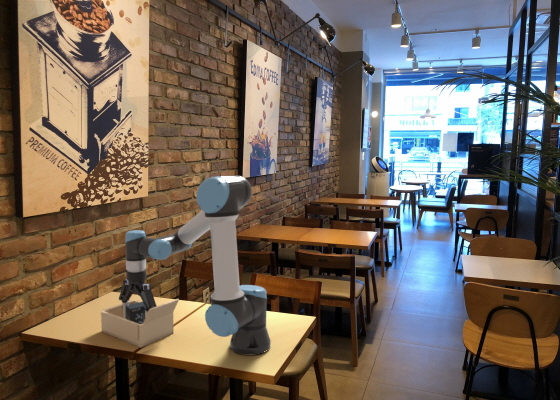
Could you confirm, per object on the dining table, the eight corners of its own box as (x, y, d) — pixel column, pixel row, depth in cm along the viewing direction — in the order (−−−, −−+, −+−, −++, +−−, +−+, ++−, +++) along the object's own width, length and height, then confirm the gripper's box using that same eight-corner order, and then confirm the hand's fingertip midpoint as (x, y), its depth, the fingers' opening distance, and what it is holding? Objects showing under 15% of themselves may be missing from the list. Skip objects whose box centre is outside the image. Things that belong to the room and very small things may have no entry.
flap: (173, 312, 175) (179, 299, 172) (144, 323, 163) (150, 310, 161) (172, 311, 175) (178, 298, 172) (143, 322, 163) (149, 309, 161)
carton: (174, 332, 178) (174, 311, 177) (139, 348, 164) (138, 325, 163) (135, 318, 191) (134, 299, 190) (99, 331, 177) (98, 310, 176)
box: (130, 335, 172) (130, 308, 171) (125, 330, 177) (125, 304, 176) (150, 330, 177) (149, 304, 176) (144, 325, 182) (144, 300, 181)
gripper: (165, 272, 170) (166, 325, 173) (124, 263, 184) (126, 312, 187) (149, 277, 164) (151, 332, 167) (108, 266, 178) (110, 317, 181)
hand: (137, 321), depth 177 cm, fingers open, 13 cm apart
